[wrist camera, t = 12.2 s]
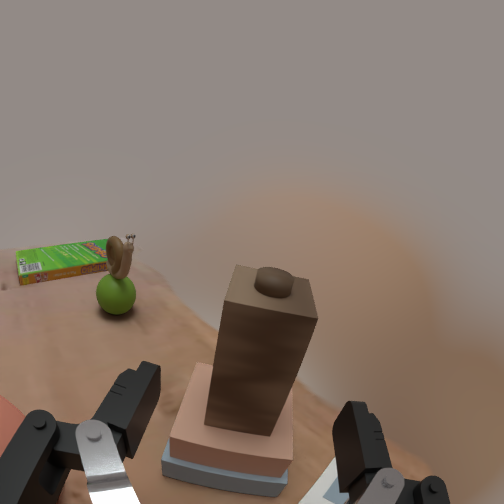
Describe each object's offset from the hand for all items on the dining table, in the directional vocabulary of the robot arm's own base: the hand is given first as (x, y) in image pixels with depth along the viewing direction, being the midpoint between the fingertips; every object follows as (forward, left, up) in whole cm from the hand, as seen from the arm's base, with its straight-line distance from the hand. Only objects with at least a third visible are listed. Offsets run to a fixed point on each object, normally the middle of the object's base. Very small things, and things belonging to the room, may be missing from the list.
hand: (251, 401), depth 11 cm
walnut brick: (-3, +5, -7) cm, 9 cm away
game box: (-44, +7, -14) cm, 46 cm away
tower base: (-3, +5, -13) cm, 15 cm away
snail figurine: (-26, +8, -14) cm, 31 cm away
